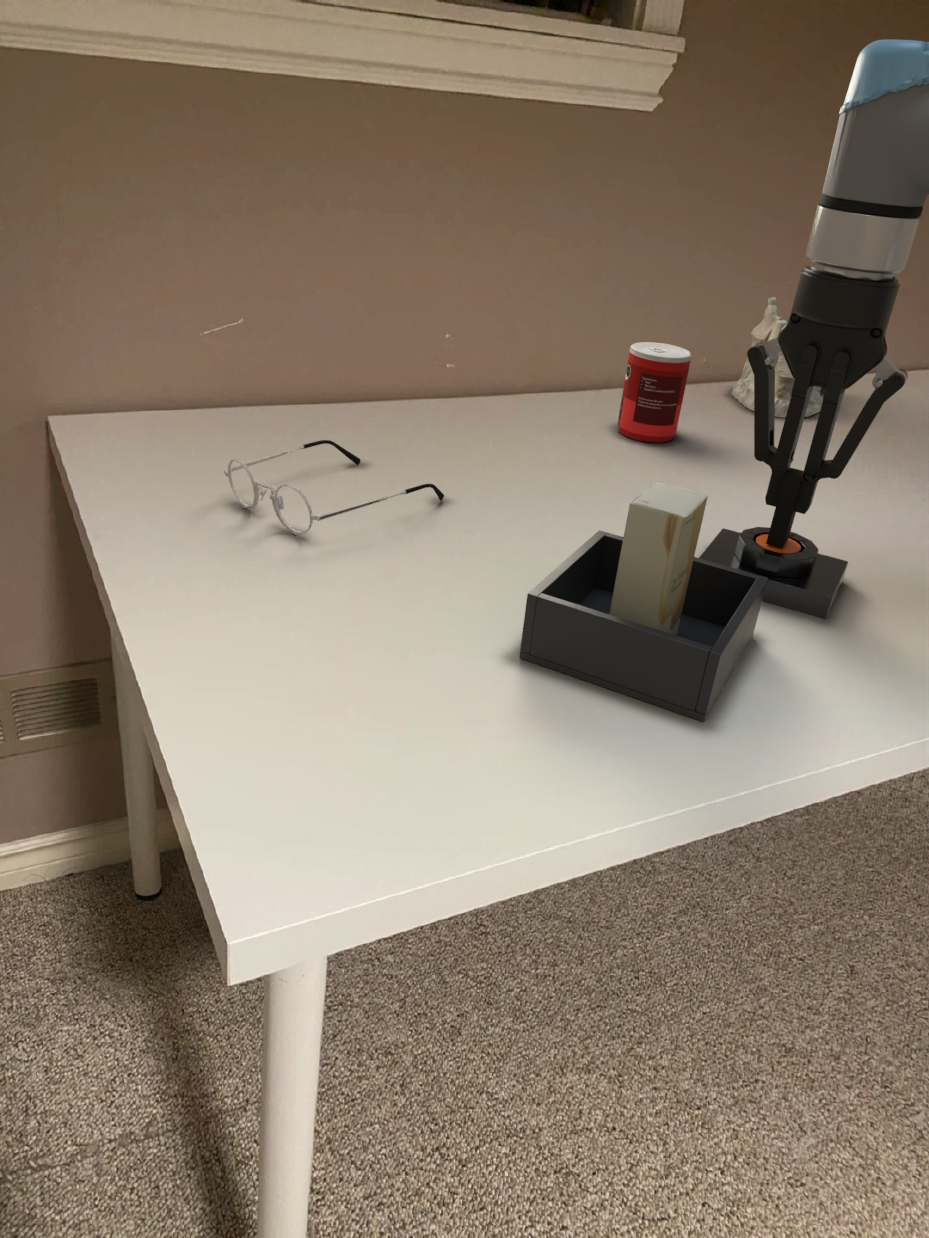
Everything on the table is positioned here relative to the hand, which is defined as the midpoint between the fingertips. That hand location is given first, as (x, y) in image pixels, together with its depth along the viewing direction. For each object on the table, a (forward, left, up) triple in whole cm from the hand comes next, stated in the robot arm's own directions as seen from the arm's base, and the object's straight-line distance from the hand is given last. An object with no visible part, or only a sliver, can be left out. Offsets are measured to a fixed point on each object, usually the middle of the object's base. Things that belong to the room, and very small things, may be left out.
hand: (777, 540), depth 86 cm
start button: (0, 0, -2) cm, 2 cm away
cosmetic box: (+6, +19, -4) cm, 20 cm away
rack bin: (+6, +19, -4) cm, 20 cm away
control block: (0, 0, -4) cm, 4 cm away
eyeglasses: (+42, +10, -4) cm, 43 cm away
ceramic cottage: (+12, -65, -4) cm, 66 cm away
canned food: (+24, -35, -4) cm, 43 cm away
